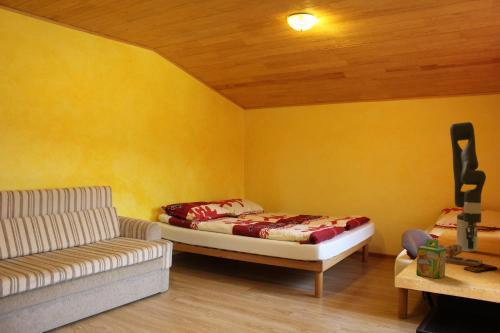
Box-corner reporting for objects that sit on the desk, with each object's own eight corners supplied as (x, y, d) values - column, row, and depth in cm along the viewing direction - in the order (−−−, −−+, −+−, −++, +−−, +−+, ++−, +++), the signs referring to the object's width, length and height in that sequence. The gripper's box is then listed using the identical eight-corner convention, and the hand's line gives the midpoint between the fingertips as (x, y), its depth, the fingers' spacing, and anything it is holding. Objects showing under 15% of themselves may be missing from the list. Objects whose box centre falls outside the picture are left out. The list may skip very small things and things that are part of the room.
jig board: (434, 256, 218) (434, 253, 218) (482, 263, 204) (482, 260, 204) (426, 259, 208) (426, 256, 208) (476, 267, 194) (476, 263, 194)
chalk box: (415, 275, 175) (416, 239, 175) (423, 271, 182) (423, 237, 182) (439, 279, 169) (440, 242, 169) (445, 275, 176) (446, 239, 176)
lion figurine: (461, 263, 206) (465, 245, 205) (457, 264, 202) (460, 246, 201) (432, 253, 216) (435, 236, 216) (427, 254, 213) (430, 237, 212)
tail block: (468, 247, 204) (468, 235, 204) (477, 248, 202) (477, 236, 202) (466, 248, 201) (466, 235, 201) (475, 249, 198) (475, 236, 199)
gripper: (467, 210, 209) (466, 245, 209) (460, 212, 199) (459, 248, 198) (484, 212, 205) (483, 247, 204) (477, 213, 194) (477, 251, 193)
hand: (471, 248), depth 201 cm, fingers closed on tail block, 4 cm apart
